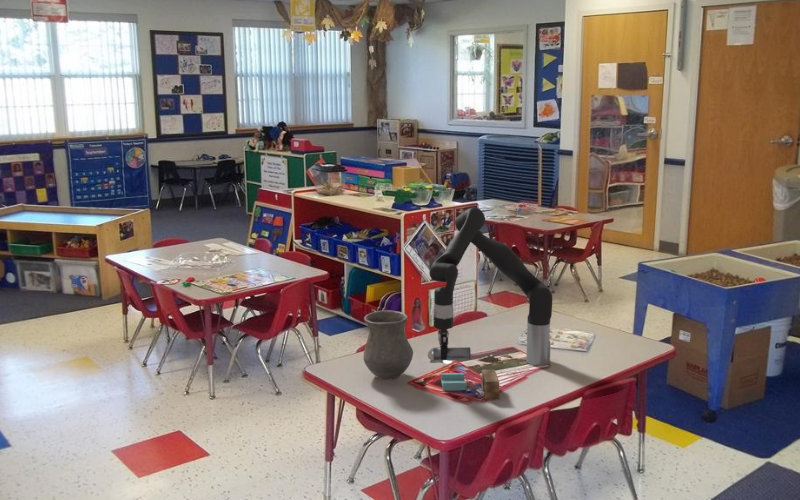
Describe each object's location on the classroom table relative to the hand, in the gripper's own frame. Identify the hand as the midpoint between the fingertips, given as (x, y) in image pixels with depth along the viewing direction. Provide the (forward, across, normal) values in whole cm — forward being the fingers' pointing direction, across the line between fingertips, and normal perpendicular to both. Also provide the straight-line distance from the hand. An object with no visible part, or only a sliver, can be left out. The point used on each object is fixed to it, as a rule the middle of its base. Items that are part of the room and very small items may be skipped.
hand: (443, 357), depth 296 cm
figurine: (+12, -26, +2) cm, 29 cm away
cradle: (+11, 0, +4) cm, 12 cm away
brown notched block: (+11, +8, +17) cm, 22 cm away
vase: (+12, -10, -21) cm, 26 cm away
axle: (+1, 0, +3) cm, 3 cm away
